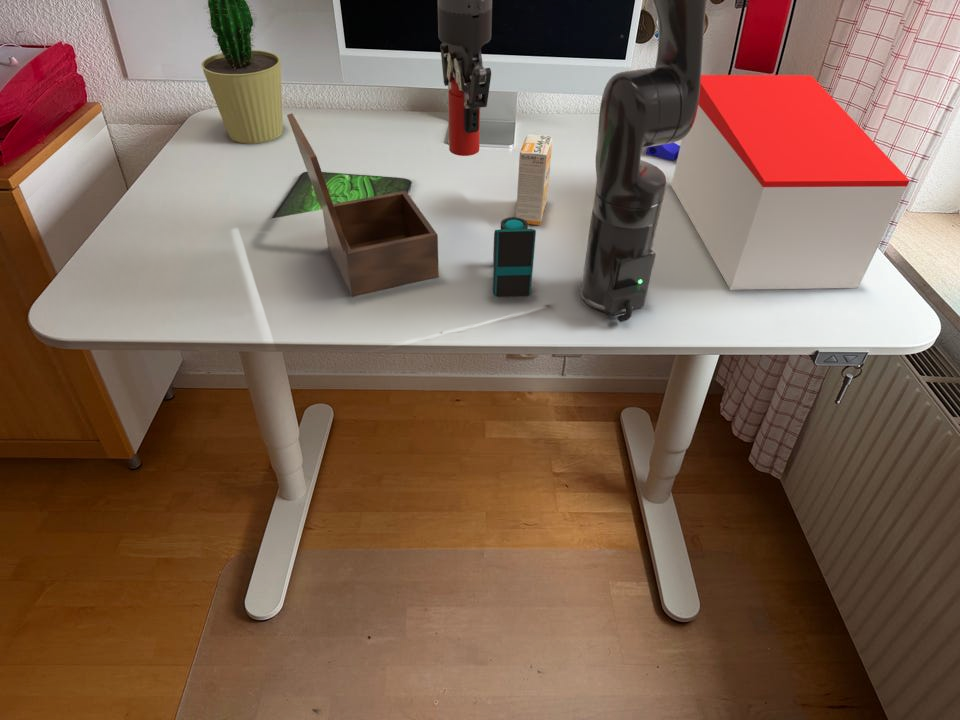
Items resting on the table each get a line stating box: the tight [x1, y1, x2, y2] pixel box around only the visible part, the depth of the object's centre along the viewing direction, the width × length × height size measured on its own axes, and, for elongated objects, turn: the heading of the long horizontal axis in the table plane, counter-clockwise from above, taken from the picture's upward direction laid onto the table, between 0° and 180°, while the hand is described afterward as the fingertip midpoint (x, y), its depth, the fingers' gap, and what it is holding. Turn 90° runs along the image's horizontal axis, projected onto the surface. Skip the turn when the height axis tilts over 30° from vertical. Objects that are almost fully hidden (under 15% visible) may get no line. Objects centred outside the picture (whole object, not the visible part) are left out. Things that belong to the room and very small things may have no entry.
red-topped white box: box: [670, 74, 911, 291], centre depth 111 cm, size 21×35×21 cm, turn 3°
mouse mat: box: [270, 171, 413, 219], centre depth 120 cm, size 27×22×1 cm
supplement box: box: [515, 133, 554, 226], centre depth 117 cm, size 8×5×13 cm, turn 168°
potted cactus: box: [201, 0, 284, 145], centre depth 135 cm, size 15×15×30 cm
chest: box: [322, 191, 440, 298], centre depth 105 cm, size 14×15×8 cm
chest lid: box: [286, 113, 348, 251], centre depth 94 cm, size 15×15×1 cm
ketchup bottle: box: [447, 72, 481, 157], centre depth 102 cm, size 5×5×12 cm
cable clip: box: [645, 142, 680, 162], centre depth 138 cm, size 12×4×6 cm, turn 58°
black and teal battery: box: [492, 216, 537, 298], centre depth 101 cm, size 6×12×10 cm
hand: (464, 124), depth 103 cm, fingers closed on ketchup bottle, 5 cm apart
